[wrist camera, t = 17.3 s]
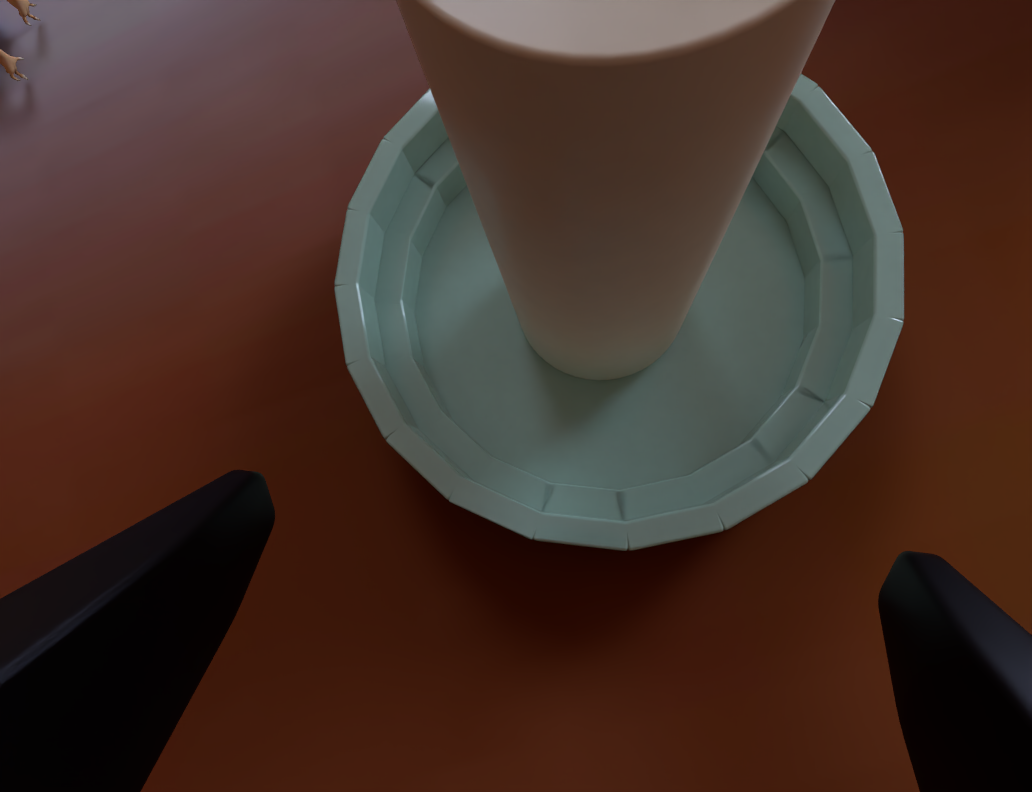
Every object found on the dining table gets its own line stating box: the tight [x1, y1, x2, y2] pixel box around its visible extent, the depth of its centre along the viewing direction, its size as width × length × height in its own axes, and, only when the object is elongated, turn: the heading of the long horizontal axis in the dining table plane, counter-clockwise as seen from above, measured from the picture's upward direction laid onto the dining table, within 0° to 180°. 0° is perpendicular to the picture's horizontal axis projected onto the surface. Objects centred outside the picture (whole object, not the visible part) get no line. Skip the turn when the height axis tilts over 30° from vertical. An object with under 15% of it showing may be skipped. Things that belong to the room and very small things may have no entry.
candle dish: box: [334, 74, 904, 551], centre depth 17 cm, size 14×14×3 cm
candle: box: [396, 0, 835, 380], centre depth 12 cm, size 5×5×14 cm
